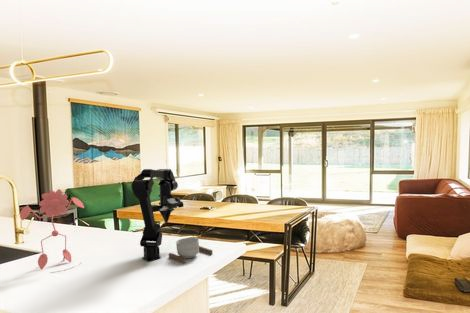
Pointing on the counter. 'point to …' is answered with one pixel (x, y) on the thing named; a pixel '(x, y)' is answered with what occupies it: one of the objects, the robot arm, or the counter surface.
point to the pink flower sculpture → (52, 206)
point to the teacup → (187, 247)
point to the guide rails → (184, 258)
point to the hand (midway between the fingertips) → (166, 222)
